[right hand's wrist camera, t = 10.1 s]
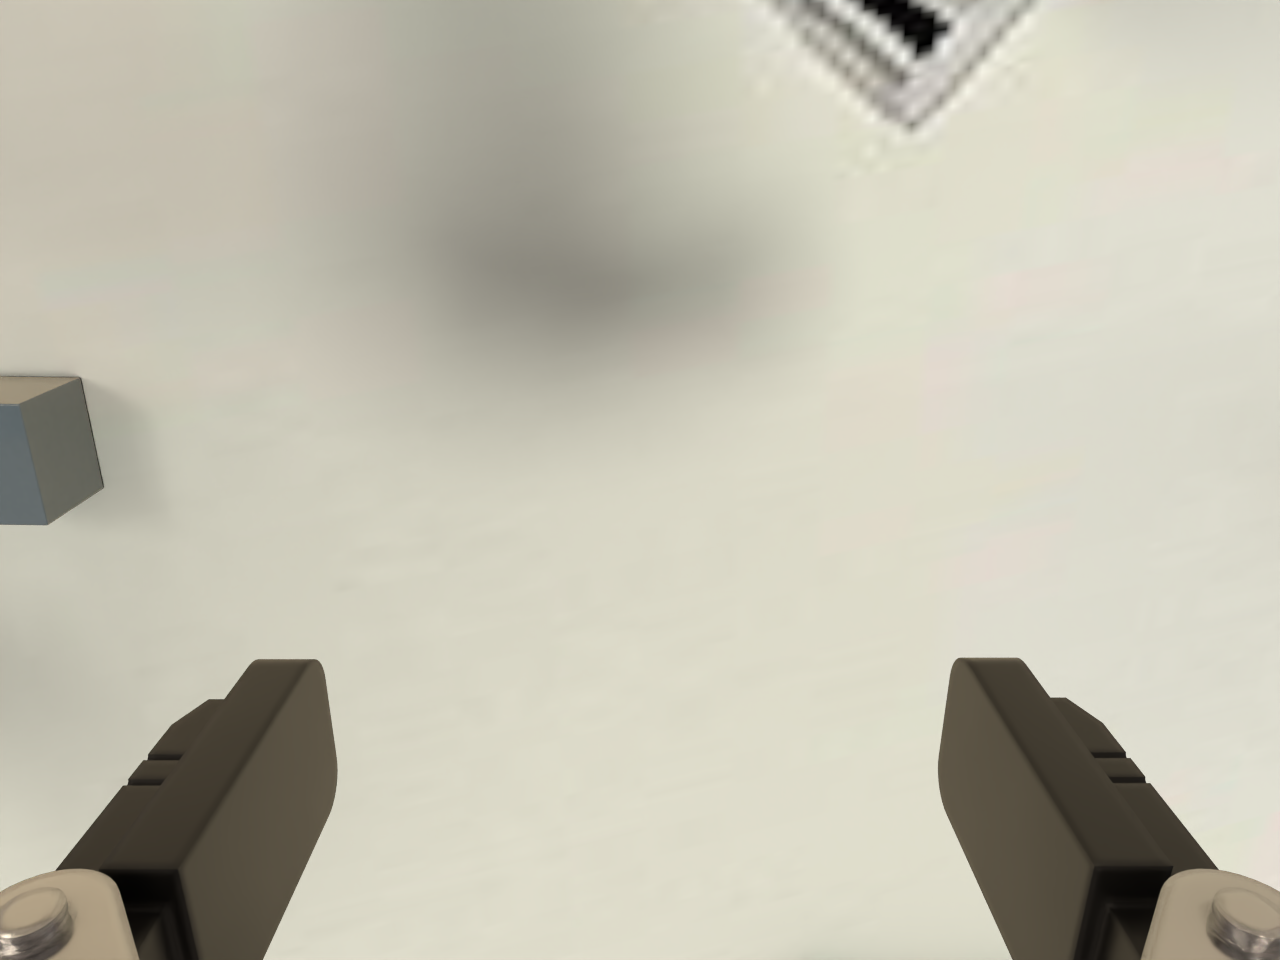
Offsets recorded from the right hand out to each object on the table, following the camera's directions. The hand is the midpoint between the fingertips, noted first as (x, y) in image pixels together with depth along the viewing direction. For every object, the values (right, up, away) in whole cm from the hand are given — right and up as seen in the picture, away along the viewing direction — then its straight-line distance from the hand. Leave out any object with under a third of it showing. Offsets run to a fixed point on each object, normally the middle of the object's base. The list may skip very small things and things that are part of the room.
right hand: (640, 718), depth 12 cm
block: (-26, +5, +28) cm, 38 cm away
